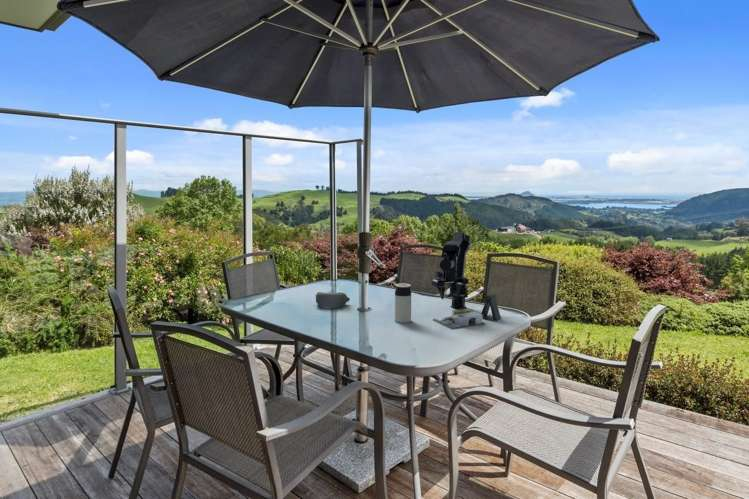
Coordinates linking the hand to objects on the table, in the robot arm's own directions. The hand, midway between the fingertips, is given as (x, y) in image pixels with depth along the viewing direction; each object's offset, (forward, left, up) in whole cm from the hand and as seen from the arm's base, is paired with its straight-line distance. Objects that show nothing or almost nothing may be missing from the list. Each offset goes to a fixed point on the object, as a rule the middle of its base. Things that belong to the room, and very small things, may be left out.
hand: (449, 298), depth 221 cm
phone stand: (-16, +12, -9) cm, 22 cm away
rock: (+48, -44, -10) cm, 66 cm away
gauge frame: (+2, +11, -9) cm, 14 cm away
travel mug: (+26, -2, -9) cm, 28 cm away
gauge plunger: (+3, +13, -8) cm, 16 cm away
